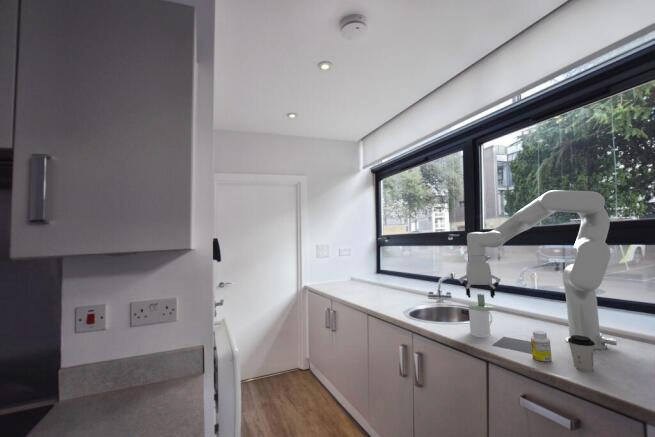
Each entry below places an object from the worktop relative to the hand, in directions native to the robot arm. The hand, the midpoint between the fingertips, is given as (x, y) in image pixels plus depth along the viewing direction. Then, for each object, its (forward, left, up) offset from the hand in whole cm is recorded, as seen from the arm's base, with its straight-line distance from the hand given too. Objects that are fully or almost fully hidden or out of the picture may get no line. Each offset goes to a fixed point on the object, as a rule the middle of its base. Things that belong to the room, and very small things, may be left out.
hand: (480, 297), depth 139 cm
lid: (0, 0, -5) cm, 5 cm away
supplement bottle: (-26, +17, -17) cm, 35 cm away
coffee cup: (-37, +15, -17) cm, 43 cm away
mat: (-15, +6, -17) cm, 23 cm away
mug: (0, 0, -17) cm, 17 cm away
